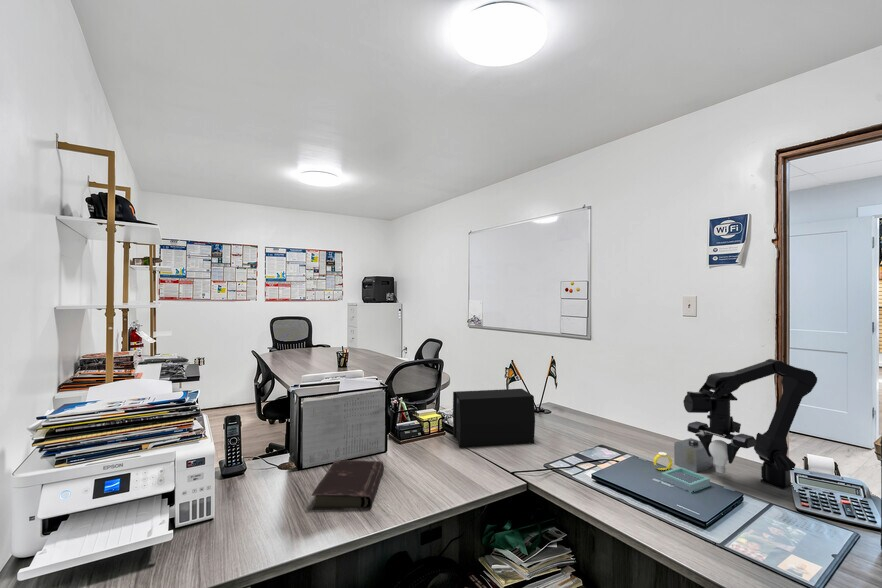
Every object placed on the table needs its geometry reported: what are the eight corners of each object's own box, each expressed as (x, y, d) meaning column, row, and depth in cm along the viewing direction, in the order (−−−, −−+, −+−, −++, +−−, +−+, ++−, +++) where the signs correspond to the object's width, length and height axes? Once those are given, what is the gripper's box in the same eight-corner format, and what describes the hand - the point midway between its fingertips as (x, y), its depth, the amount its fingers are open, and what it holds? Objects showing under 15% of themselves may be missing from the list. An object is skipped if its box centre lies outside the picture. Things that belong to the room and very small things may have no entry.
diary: (384, 474, 144) (384, 460, 144) (371, 512, 119) (372, 495, 119) (331, 473, 144) (332, 459, 144) (308, 511, 119) (308, 494, 119)
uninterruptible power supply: (452, 435, 181) (452, 390, 181) (524, 431, 186) (524, 387, 186) (460, 449, 165) (460, 400, 165) (538, 444, 170) (538, 396, 170)
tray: (710, 486, 132) (709, 478, 132) (691, 493, 127) (691, 485, 127) (680, 474, 141) (680, 466, 141) (661, 480, 136) (661, 472, 136)
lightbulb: (710, 475, 133) (709, 442, 133) (707, 468, 139) (707, 436, 139) (733, 479, 130) (733, 445, 130) (730, 471, 136) (730, 438, 136)
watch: (657, 472, 143) (655, 455, 143) (653, 469, 146) (651, 452, 146) (674, 471, 143) (672, 454, 143) (669, 467, 146) (668, 451, 146)
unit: (713, 467, 146) (713, 442, 146) (696, 472, 142) (696, 447, 142) (690, 458, 154) (690, 435, 154) (673, 464, 149) (673, 439, 149)
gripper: (765, 416, 130) (765, 465, 130) (705, 403, 147) (705, 446, 147) (746, 422, 125) (746, 472, 125) (686, 407, 142) (686, 451, 142)
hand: (720, 459), depth 135 cm, fingers closed on lightbulb, 6 cm apart
